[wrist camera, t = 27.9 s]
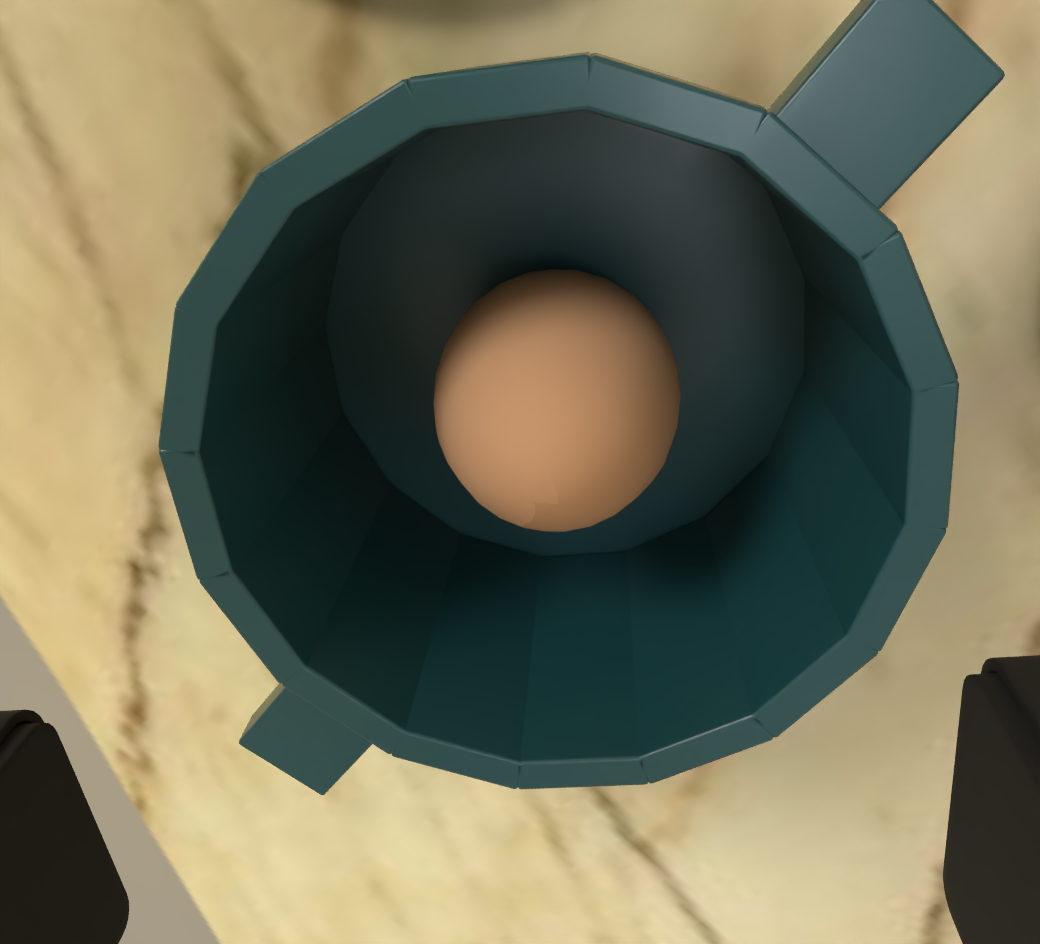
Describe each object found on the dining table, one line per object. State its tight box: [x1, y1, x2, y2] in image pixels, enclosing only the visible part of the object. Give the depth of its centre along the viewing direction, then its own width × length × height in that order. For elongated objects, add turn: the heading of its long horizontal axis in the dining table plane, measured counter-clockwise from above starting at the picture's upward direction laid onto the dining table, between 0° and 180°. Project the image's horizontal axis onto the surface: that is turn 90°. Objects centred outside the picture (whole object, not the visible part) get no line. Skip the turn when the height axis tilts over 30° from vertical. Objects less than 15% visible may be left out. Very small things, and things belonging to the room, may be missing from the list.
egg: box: [434, 269, 680, 532], centre depth 22 cm, size 6×6×8 cm
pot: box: [159, 0, 1005, 795], centre depth 22 cm, size 15×20×10 cm
